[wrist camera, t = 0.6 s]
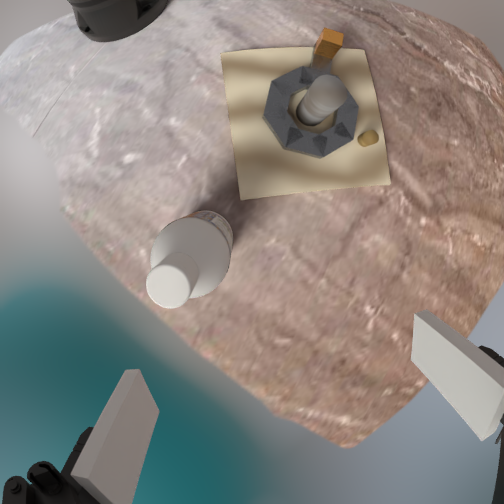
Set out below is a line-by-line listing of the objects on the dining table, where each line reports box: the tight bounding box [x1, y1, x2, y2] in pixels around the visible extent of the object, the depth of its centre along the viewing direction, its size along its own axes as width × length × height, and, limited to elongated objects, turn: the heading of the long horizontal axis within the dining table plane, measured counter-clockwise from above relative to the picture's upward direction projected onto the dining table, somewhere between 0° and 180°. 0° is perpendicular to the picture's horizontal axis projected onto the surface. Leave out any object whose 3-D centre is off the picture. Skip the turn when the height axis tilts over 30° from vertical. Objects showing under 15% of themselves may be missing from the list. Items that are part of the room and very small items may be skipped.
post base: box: [220, 47, 391, 200], centre depth 29 cm, size 20×20×10 cm
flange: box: [263, 28, 359, 159], centre depth 29 cm, size 16×11×6 cm
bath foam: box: [146, 211, 233, 308], centre depth 27 cm, size 7×7×20 cm
